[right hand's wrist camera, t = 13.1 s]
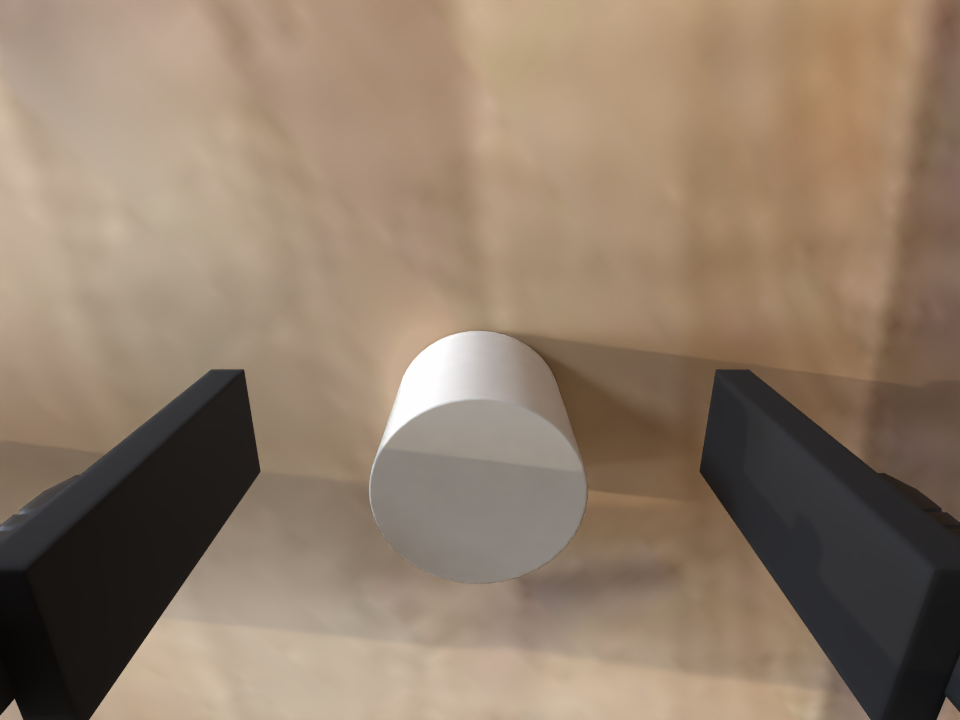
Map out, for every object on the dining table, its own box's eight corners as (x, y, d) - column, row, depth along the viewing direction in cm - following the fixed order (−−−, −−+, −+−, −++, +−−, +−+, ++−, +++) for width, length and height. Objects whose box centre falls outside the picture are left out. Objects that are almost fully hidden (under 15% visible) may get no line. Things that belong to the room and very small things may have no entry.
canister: (385, 339, 14) (349, 409, 10) (555, 321, 14) (584, 386, 10) (410, 483, 15) (387, 592, 11) (564, 469, 15) (592, 576, 11)
